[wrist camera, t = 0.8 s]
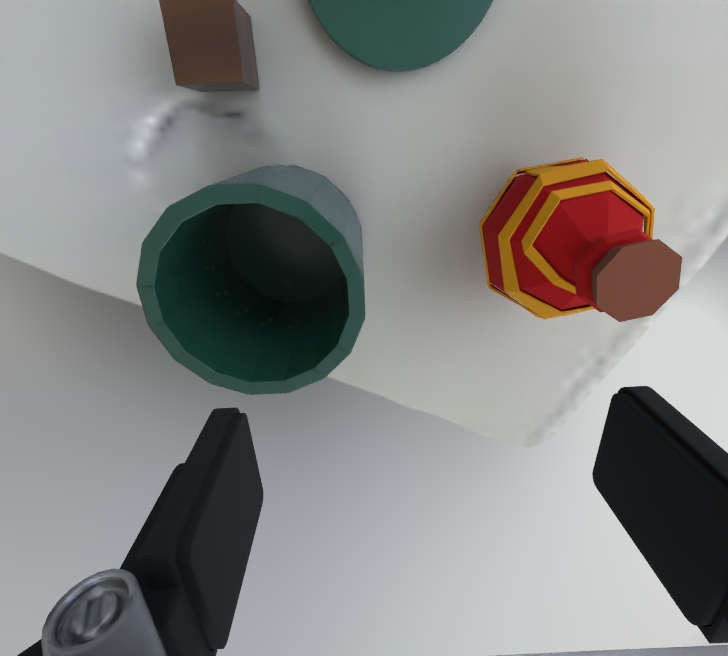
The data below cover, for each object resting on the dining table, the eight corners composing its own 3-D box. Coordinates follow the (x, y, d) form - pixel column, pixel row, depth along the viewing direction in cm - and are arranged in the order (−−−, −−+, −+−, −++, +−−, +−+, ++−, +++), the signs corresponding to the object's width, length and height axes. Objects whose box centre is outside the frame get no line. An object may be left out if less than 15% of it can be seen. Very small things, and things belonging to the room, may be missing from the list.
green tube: (203, 168, 31) (107, 189, 19) (358, 162, 31) (360, 179, 19) (230, 311, 36) (168, 398, 24) (364, 306, 36) (367, 390, 24)
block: (186, 18, 27) (158, -2, 23) (250, 15, 27) (232, -4, 23) (200, 91, 28) (175, 84, 25) (259, 89, 28) (244, 82, 25)
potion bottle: (444, 272, 34) (501, 362, 21) (478, 141, 30) (579, 146, 17) (560, 290, 35) (687, 387, 22) (609, 165, 31) (807, 188, 17)
